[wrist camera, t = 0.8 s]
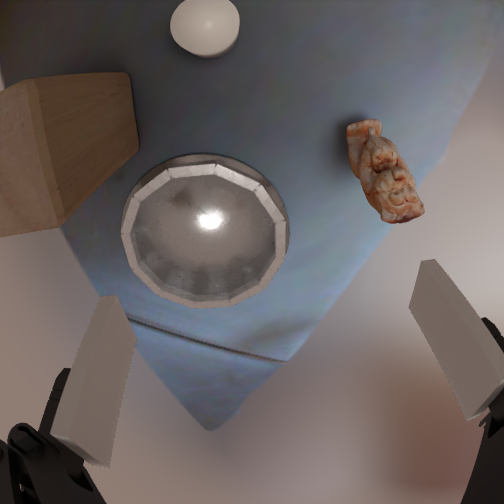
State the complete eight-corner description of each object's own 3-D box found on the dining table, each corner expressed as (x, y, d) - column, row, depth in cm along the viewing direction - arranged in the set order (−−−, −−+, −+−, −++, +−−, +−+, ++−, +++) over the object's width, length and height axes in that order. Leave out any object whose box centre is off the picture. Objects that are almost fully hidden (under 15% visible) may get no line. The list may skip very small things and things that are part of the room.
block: (72, 165, 33) (-27, 247, 16) (59, 91, 28) (-62, 128, 11) (143, 151, 33) (62, 233, 16) (131, 70, 28) (26, 75, 11)
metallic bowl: (106, 165, 34) (99, 171, 32) (288, 147, 34) (292, 152, 32) (144, 304, 45) (141, 314, 43) (287, 295, 46) (289, 306, 44)
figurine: (368, 111, 32) (441, 140, 19) (380, 168, 36) (446, 222, 23) (321, 124, 33) (375, 158, 20) (337, 181, 37) (388, 243, 24)
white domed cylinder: (181, 13, 25) (168, -2, 19) (236, 7, 25) (237, -9, 19) (184, 61, 28) (172, 57, 22) (239, 55, 28) (241, 50, 22)
